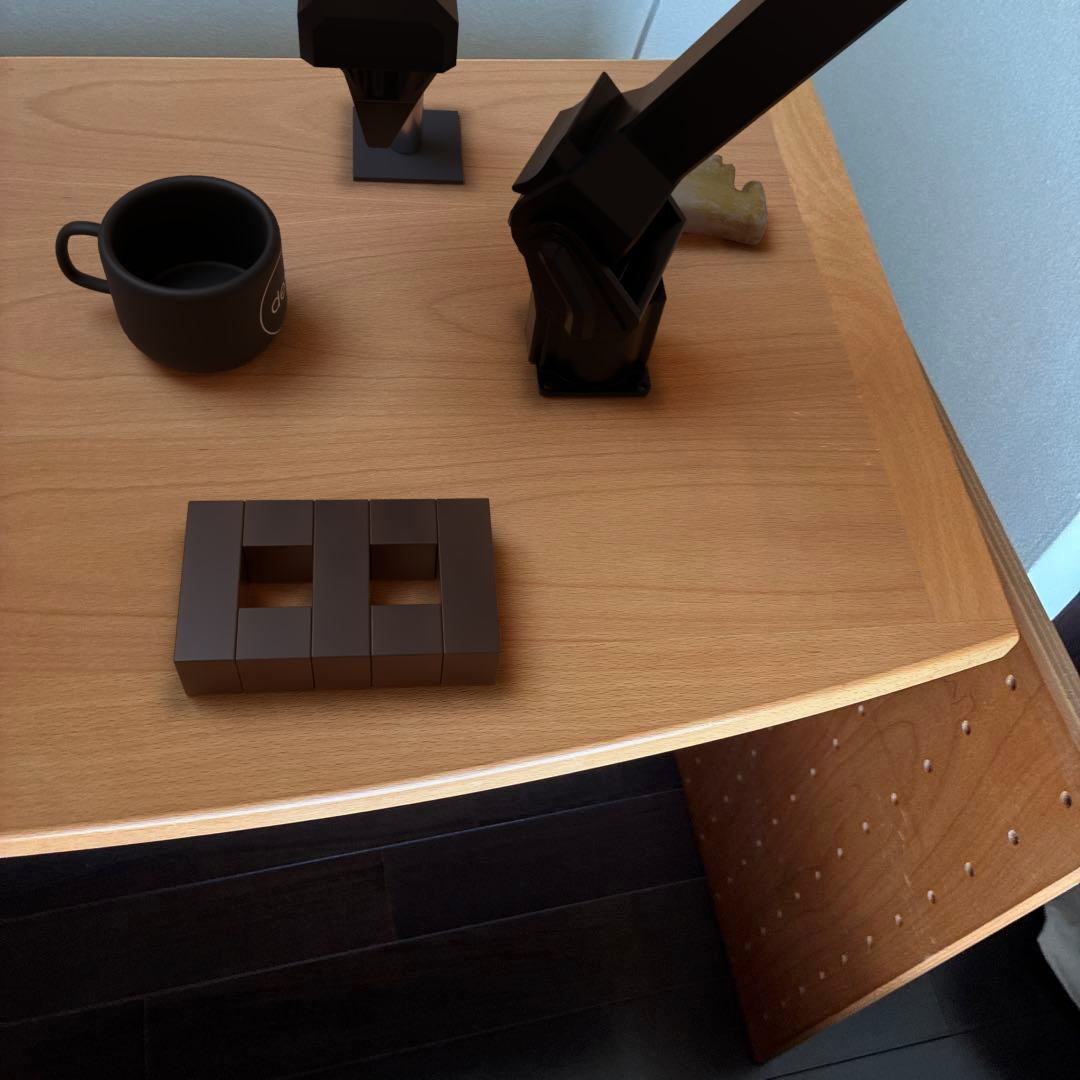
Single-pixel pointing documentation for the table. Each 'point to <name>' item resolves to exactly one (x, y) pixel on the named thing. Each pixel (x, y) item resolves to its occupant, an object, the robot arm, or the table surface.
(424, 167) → the pad
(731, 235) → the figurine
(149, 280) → the mug
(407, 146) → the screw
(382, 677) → the board
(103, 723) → the table surface
